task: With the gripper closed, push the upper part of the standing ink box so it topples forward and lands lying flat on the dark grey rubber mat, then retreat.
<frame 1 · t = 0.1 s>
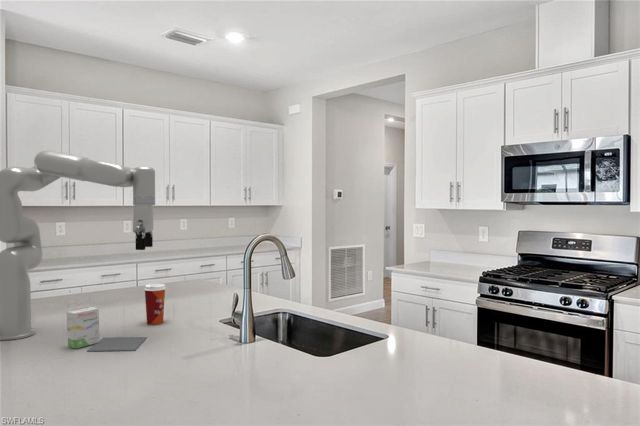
hand: (144, 248, 168), 31 cm above the table, fingers open, 9 cm apart
mat: (118, 344, 155), on the table
coffee cup: (155, 323, 183), on the table
ink box: (84, 345, 155), on the table, touching mat
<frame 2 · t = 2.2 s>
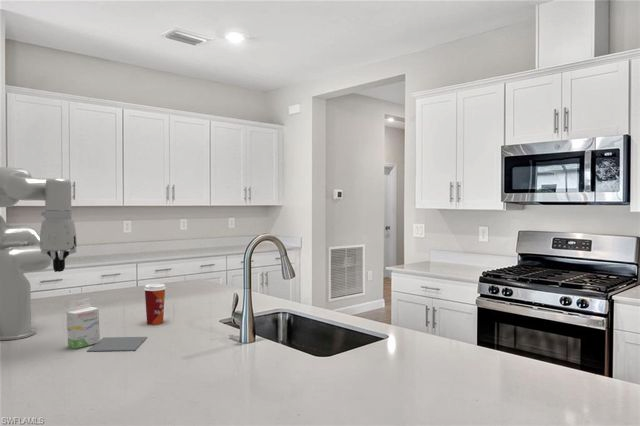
hand: (59, 271, 153), 25 cm above the table, fingers closed
nothing on the table moved.
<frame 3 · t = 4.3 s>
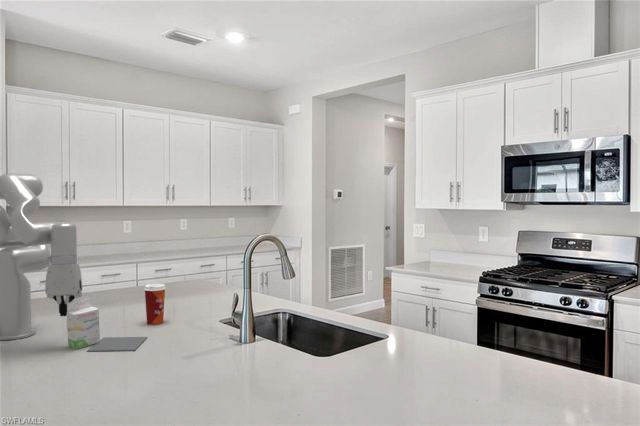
hand: (64, 315, 154), 10 cm above the table, fingers closed
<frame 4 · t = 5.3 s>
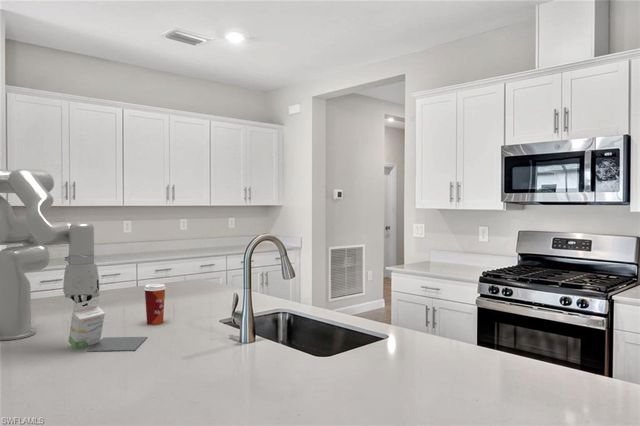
hand: (82, 314, 154), 10 cm above the table, fingers closed
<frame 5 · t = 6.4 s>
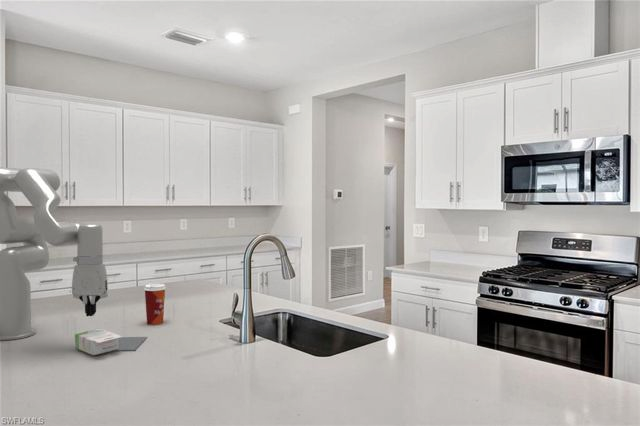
hand: (90, 315, 154), 10 cm above the table, fingers closed
ink box: (87, 338, 153), point 3 cm above the table, touching mat
everything else where it was.
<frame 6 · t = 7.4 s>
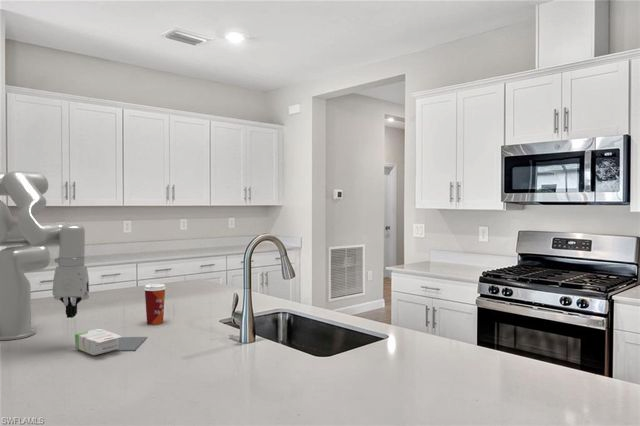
hand: (71, 316, 154), 10 cm above the table, fingers closed
nothing on the table moved.
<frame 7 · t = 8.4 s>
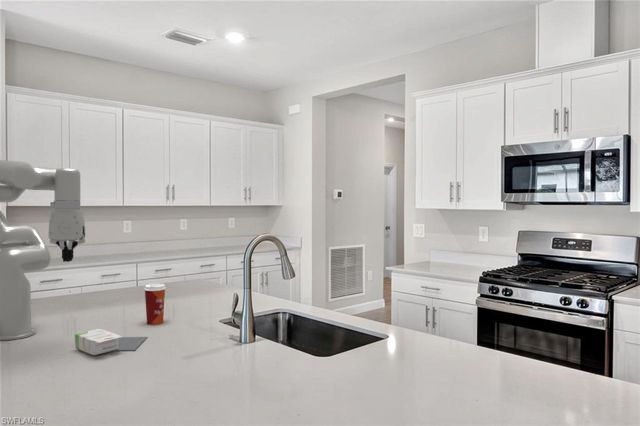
hand: (67, 261, 153), 28 cm above the table, fingers closed
nothing on the table moved.
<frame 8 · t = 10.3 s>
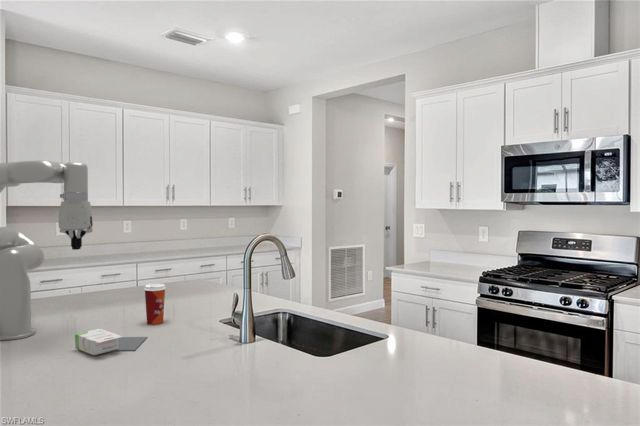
hand: (76, 249, 164), 31 cm above the table, fingers closed
nothing on the table moved.
at the end: ink box tilted 89°; ink box inside the target area (8.6 cm from its centre), point 2.8 cm above the table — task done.
